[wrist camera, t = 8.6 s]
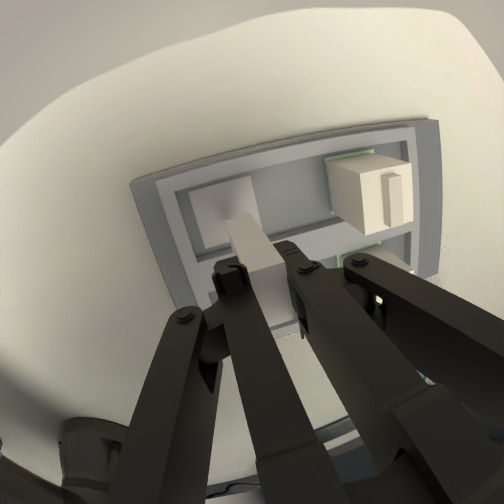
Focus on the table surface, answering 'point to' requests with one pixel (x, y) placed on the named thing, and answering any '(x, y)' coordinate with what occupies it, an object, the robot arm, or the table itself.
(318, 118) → the table surface
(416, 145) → the switch board
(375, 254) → the tab
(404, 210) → the tab
